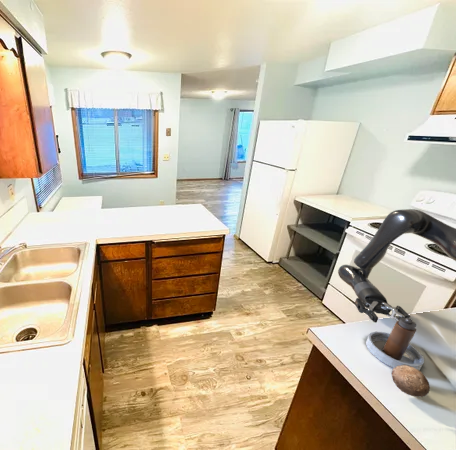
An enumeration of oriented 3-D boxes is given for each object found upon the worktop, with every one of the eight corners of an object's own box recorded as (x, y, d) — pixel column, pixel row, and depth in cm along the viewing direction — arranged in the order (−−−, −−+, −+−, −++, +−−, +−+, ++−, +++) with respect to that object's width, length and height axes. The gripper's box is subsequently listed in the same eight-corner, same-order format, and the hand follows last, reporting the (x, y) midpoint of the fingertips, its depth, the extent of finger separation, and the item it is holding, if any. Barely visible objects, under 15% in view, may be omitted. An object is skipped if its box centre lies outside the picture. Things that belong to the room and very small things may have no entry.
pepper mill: (396, 350, 80) (414, 315, 75) (404, 361, 76) (424, 325, 71) (379, 346, 82) (396, 311, 76) (386, 357, 78) (405, 321, 72)
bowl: (403, 345, 83) (407, 337, 82) (430, 379, 72) (435, 371, 70) (358, 335, 87) (361, 327, 86) (376, 366, 75) (380, 358, 74)
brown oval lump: (393, 357, 74) (408, 358, 68) (422, 380, 70) (441, 383, 65) (379, 377, 72) (394, 379, 67) (408, 402, 69) (426, 406, 63)
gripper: (351, 283, 96) (370, 309, 82) (394, 291, 92) (422, 320, 78) (345, 298, 99) (362, 326, 85) (387, 306, 95) (413, 337, 80)
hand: (391, 323), depth 81 cm, fingers open, 8 cm apart
